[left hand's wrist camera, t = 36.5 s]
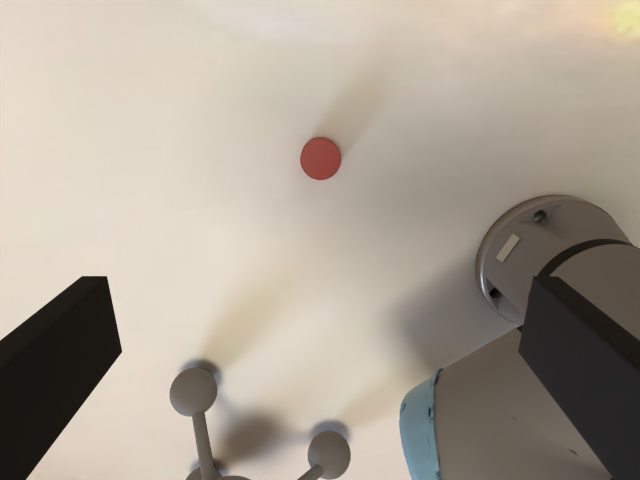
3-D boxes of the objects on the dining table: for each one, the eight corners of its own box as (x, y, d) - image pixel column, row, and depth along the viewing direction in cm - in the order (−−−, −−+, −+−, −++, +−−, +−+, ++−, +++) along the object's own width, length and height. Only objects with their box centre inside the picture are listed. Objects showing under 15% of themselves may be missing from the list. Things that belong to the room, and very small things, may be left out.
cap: (298, 171, 43) (297, 175, 41) (304, 133, 41) (304, 135, 39) (335, 178, 43) (336, 183, 41) (343, 141, 42) (344, 143, 40)
